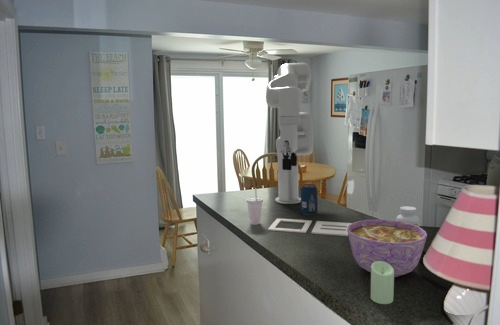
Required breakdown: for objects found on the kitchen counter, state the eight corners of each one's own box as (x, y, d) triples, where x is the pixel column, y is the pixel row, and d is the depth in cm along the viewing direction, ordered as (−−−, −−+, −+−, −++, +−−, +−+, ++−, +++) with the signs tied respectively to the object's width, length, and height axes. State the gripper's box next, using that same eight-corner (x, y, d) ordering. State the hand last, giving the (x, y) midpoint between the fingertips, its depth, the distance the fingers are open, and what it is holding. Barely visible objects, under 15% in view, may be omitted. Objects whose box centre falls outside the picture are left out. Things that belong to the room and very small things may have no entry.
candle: (397, 303, 87) (398, 269, 86) (375, 305, 87) (376, 270, 85) (387, 293, 92) (388, 260, 91) (367, 294, 92) (367, 261, 90)
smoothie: (262, 226, 147) (261, 190, 145) (245, 225, 148) (244, 189, 146) (264, 221, 153) (263, 186, 151) (248, 220, 154) (247, 186, 152)
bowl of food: (383, 252, 117) (384, 215, 116) (442, 277, 100) (444, 234, 98) (331, 266, 108) (331, 226, 107) (386, 295, 91) (387, 248, 89)
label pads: (276, 219, 155) (276, 218, 155) (354, 224, 146) (354, 223, 146) (267, 230, 142) (267, 228, 142) (352, 236, 133) (352, 234, 132)
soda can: (307, 210, 168) (307, 183, 166) (320, 213, 163) (320, 185, 161) (297, 213, 163) (297, 185, 161) (310, 216, 158) (310, 187, 156)
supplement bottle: (401, 242, 125) (402, 204, 124) (422, 247, 121) (423, 207, 119) (391, 248, 121) (393, 208, 119) (413, 253, 116) (414, 212, 114)
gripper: (284, 120, 150) (285, 164, 152) (273, 122, 134) (274, 171, 136) (303, 120, 148) (304, 164, 150) (294, 122, 131) (295, 171, 134)
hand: (289, 167), depth 143 cm, fingers open, 9 cm apart
